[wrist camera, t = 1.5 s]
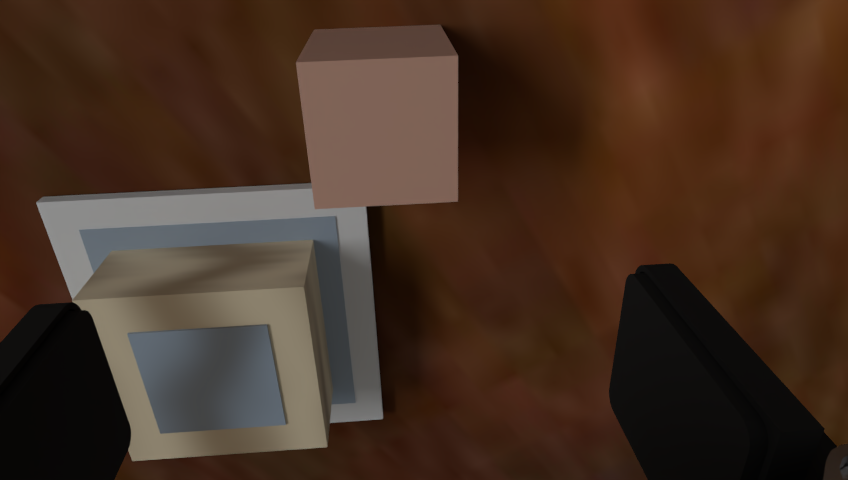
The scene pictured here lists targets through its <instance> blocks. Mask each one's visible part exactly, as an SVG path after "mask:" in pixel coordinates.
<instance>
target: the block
mask: <svg viewBox="0 0 848 480" xmlns="http://www.w3.org/2000/svg"><path fill="white" fill-rule="evenodd" d="M296 66H297V74H298V82H299V90H300V98H301V105H302V113H303V121H304V129H305V137H306V145H307V152H308V160H309V168H310V176H311V184H312V192H313V200H314V207H315V209H328V208H347V207H366V206H385V205H403V204H422V203H441V202H458V54H457V53H456V51H455V49H454V48H453V46H452V44H451V42H450V41H449V39H448V37H447V35H446V34H445V32H444V30H443V28H442V27H441V25H420V26H395V27H369V28H343V29H317V30H314V31H313V33H312V34H311V36H310V38H309V40H308V42H307V43H306V45H305V47H304V49H303V51H302V52H301V54H300V56H299V58H298V60H297V61H296Z"/></svg>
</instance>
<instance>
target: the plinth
mask: <svg viewBox="0 0 848 480" xmlns="http://www.w3.org/2000/svg"><path fill="white" fill-rule="evenodd" d="M72 302H73V303H75V304H77V305H78V306H79V307H80V309H81V310H86V311H88V312H89V313H90V314H91V316H92V318H93V321H94V323H95V326H96V329H97V332H98V335H99V338H100V341H101V344H102V346H103V349H104V352H105V355H106V358H107V361H108V364H109V366H110V369H111V372H112V375H113V378H114V381H115V384H116V387H117V389H118V392H119V395H120V398H121V401H122V404H123V407H124V410H125V412H126V415H127V418H128V421H129V424H130V428H131V441H130V446H129V449H128V451H129V453H130V456H131V459H132V461H141V460H155V459H169V458H182V457H196V456H210V455H224V454H238V453H252V452H266V451H280V450H294V449H308V448H322V447H328V436H329V426H330V415H331V405H332V394H333V385H332V378H331V370H330V362H329V355H328V347H327V340H326V332H325V325H324V317H323V309H322V302H321V294H320V287H319V279H318V272H317V264H316V256H315V249H314V241H313V240H299V241H281V242H263V243H245V244H227V245H208V246H190V247H172V248H154V249H136V250H118V251H111V252H110V253H109V255H108V256H107V257H106V258H105V260H104V261H103V262H102V264H101V265H100V266H99V267H98V269H97V270H96V271H95V272H94V274H93V275H92V276H91V277H90V279H89V280H88V281H87V282H86V284H85V285H84V286H83V287H82V289H81V290H80V291H79V292H78V294H77V295H76V296H75V297H74V299H73V300H72Z"/></svg>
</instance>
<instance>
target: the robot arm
mask: <svg viewBox="0 0 848 480" xmlns="http://www.w3.org/2000/svg"><path fill="white" fill-rule="evenodd" d="M609 397H610V403H611V407H612V409H613V411H614V413H615V415H616V417H617V419H618V421H619V423H620V425H621V427H622V429H623V431H624V433H625V435H626V437H627V439H628V441H629V443H630V445H631V447H632V449H633V451H634V453H635V455H636V457H637V459H638V461H639V463H640V465H641V467H642V469H643V471H644V473H645V475H646V477H647V479H648V480H848V443H847V444H841V445H839V446H838V447H837V446H836V445H835V444H834V443H833V442H832V440H831V439H830V438H829V437H828V436H827V435H826V434H825V433H824V428H823V427H822V426H821V424H820V423H819V422H818V421H817V420H816V419H815V418H814V417H813V416H812V415H811V413H810V412H809V411H808V410H807V409H806V408H805V407H804V406H803V405H802V404H801V402H800V401H799V400H798V399H797V398H796V397H795V396H794V395H793V394H792V393H791V391H790V390H789V389H788V388H787V387H786V386H785V385H784V384H783V383H782V382H781V380H780V379H779V378H778V377H777V376H776V375H775V374H774V373H773V372H772V371H771V370H770V368H769V367H768V366H767V365H766V364H765V363H764V362H763V361H762V360H761V359H760V357H759V356H758V355H757V354H756V353H755V352H754V351H753V350H752V349H751V348H750V346H749V345H748V344H747V343H746V342H745V341H744V340H743V339H742V338H741V337H740V335H739V334H738V333H737V332H736V331H735V330H734V329H733V328H732V327H731V326H730V324H729V323H728V322H727V321H726V320H725V319H724V318H723V317H722V316H721V315H720V313H719V312H718V311H717V310H716V309H715V308H714V307H713V306H712V305H711V304H710V302H709V301H708V300H707V299H706V298H705V297H704V296H703V295H702V294H701V293H700V291H699V290H698V289H697V288H696V287H695V286H694V285H693V284H692V283H691V282H690V280H689V279H688V278H687V277H686V276H685V275H684V274H683V273H682V272H681V271H680V269H679V268H678V267H677V266H675V265H674V264H655V265H641V266H639V267H638V268H637V270H636V273H635V274H630V275H628V277H627V279H626V284H625V290H624V297H623V303H622V310H621V316H620V323H619V329H618V336H617V342H616V349H615V355H614V362H613V368H612V375H611V381H610V388H609ZM130 441H131V428H130V424H129V421H128V418H127V415H126V412H125V410H124V407H123V404H122V401H121V398H120V395H119V392H118V389H117V387H116V384H115V381H114V378H113V375H112V372H111V369H110V366H109V364H108V361H107V358H106V355H105V352H104V349H103V346H102V344H101V341H100V338H99V335H98V332H97V329H96V326H95V323H94V321H93V318H92V316H91V314H90V313H89V312H88V311H86V310H81V309H80V307H79V306H78V305H77V304H75V303H73V302H71V303H56V304H40V305H35V306H34V307H33V308H31V309H30V310H29V312H28V313H27V314H26V315H25V316H24V317H23V318H22V319H21V321H20V322H19V323H18V324H17V325H16V326H15V327H14V328H13V329H12V331H11V332H10V333H9V334H8V335H7V336H6V337H5V338H4V339H3V341H2V342H1V343H0V480H114V479H115V477H116V475H117V472H118V470H119V468H120V466H121V464H122V462H123V460H124V457H125V455H126V453H127V451H128V449H129V446H130Z"/></svg>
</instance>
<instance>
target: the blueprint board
mask: <svg viewBox="0 0 848 480" xmlns="http://www.w3.org/2000/svg"><path fill="white" fill-rule="evenodd" d="M36 204H37V206H38V209H39V212H40V214H41V217H42V220H43V222H44V225H45V228H46V230H47V233H48V236H49V238H50V241H51V244H52V246H53V249H54V252H55V254H56V257H57V260H58V262H59V265H60V268H61V270H62V273H63V276H64V278H65V281H66V284H67V286H68V289H69V292H70V294H71V297H72V300H73V299H74V297H75V296H76V295H77V294H78V292H79V291H80V290H81V289H82V287H83V286H84V285H85V284H86V282H87V281H88V280H89V279H90V277H91V276H92V275H93V274H94V272H95V271H96V270H97V269H98V267H99V266H100V265H101V264H102V262H103V261H104V260H105V258H106V257H107V256H108V255H109V253H110V252H111V251H118V250H136V249H154V248H172V247H190V246H208V245H227V244H245V243H263V242H281V241H299V240H313V241H314V249H315V256H316V264H317V272H318V279H319V287H320V294H321V302H322V309H323V317H324V325H325V332H326V340H327V347H328V355H329V362H330V370H331V378H332V385H333V394H332V405H331V415H330V423H335V422H349V421H363V420H378V419H383V405H382V393H381V380H380V368H379V356H378V343H377V331H376V318H375V306H374V293H373V281H372V268H371V256H370V243H369V231H368V219H367V206H366V207H347V208H328V209H315V207H314V200H313V192H312V184H311V183H305V184H286V185H266V186H246V187H226V188H207V189H187V190H167V191H148V192H128V193H108V194H89V195H69V196H49V197H42V198H41V199H40V200H39V201H37V202H36Z"/></svg>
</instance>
